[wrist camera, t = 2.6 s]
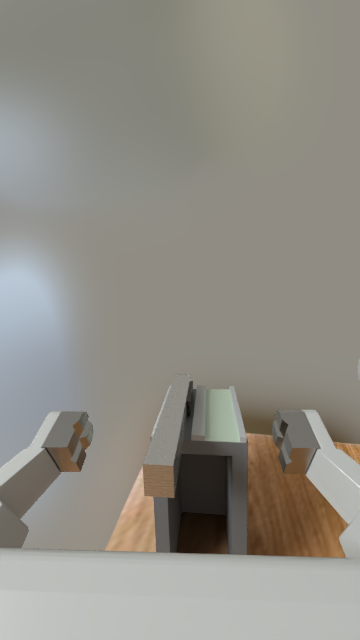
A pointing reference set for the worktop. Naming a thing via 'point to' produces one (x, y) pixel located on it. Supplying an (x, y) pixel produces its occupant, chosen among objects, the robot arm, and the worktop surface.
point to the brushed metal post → (168, 440)
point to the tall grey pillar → (209, 470)
